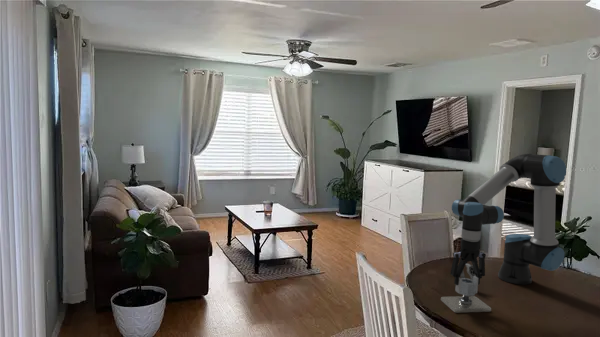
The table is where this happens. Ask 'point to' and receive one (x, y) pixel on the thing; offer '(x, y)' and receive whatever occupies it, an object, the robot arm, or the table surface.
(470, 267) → the watch
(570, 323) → the table surface
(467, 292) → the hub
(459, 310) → the block
